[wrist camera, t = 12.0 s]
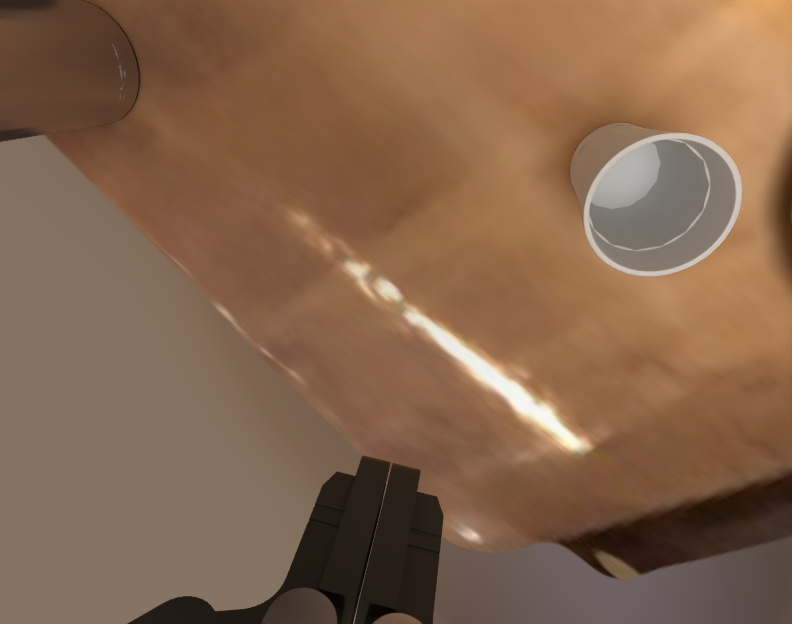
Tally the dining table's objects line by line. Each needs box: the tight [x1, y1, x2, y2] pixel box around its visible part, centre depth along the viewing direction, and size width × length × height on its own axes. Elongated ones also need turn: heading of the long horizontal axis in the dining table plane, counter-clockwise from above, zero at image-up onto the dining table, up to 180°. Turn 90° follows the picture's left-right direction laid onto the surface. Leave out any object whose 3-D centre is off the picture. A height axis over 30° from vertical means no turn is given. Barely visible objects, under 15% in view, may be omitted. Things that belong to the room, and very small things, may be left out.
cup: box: [570, 123, 742, 276], centre depth 33 cm, size 8×8×12 cm
